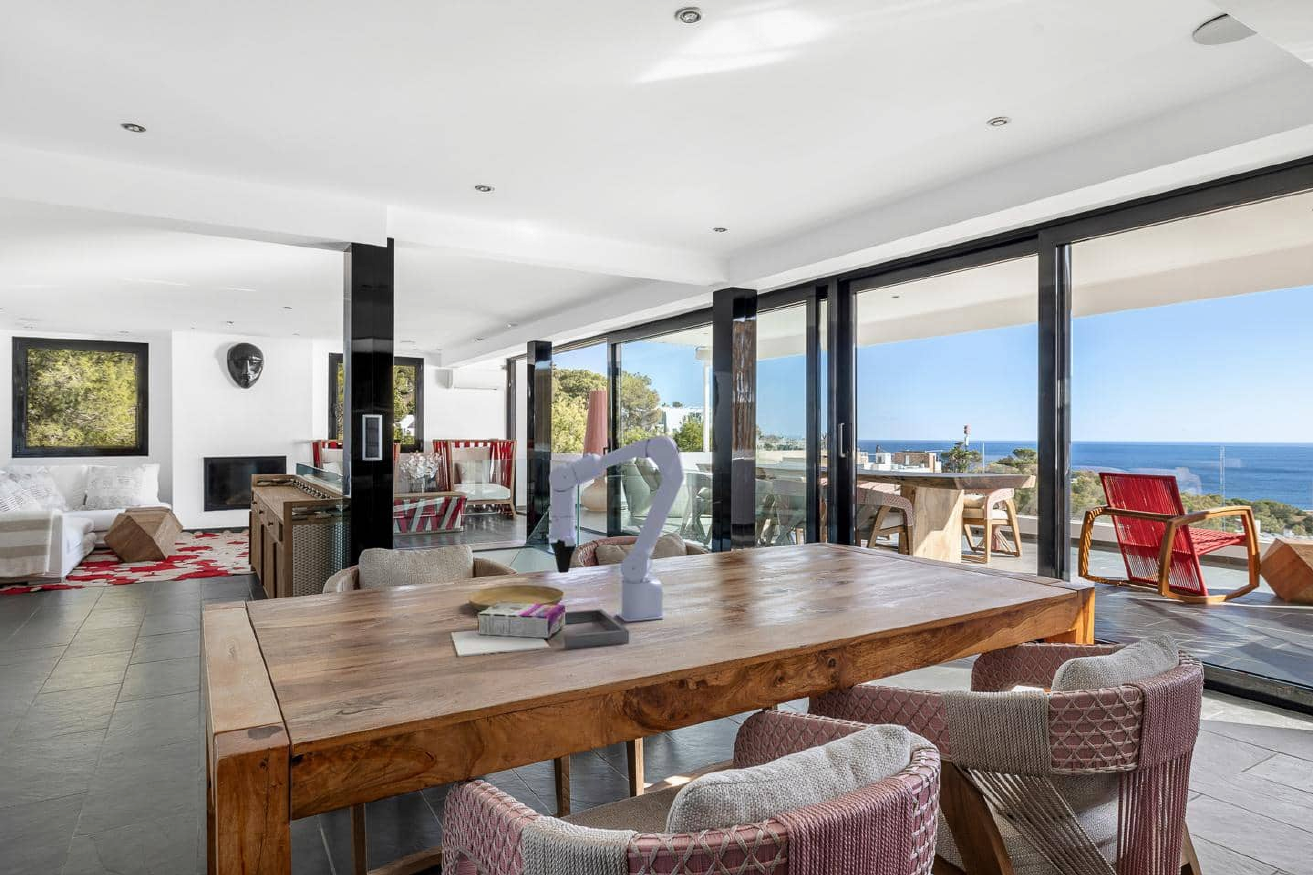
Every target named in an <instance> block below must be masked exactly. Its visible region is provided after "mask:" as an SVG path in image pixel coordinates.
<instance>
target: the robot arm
mask: <svg viewBox="0 0 1313 875" xmlns="http://www.w3.org/2000/svg"><path fill="white" fill-rule="evenodd" d="M583 456H584V457H582V458H579V459H576V460H574V461H570V460H569V461H567V462H565V466H563V465H559V466H557V467H555V468H554V469H552V470H551V472H550V473H549V476H548V482H549V485H550V486H551V499H550V500H551V504H550V505H551V506H550V507H551V508H550V509H551V513H550V514H551V515H550V516H551V522H550V523H551V526H550V527H551V530H550V532H551V533H550V534H549V533H548V534H546V535H545V536H546V538H547V539H553V540H556V542H551V543H550V547H551V548H552V551H553V554H554V556H555V557H554V558H555V561H556V562H555V563H556V566H557V567H556V568H557V571H558V573H559V574H564V573H569V570H570V566H571V560H572V557H573V554H574V551H575V550H576V548H577V544H576V543H575V539H576V537H577V533H576V496H575V490H576V489H575V488H576V485H578V486H579V485H582V484H584V483H587V482H590V481H592V480H594V479H595V480H596V479H597V478H599V477H602V476H604V473H605V471H606V469H607V468H610V467H612V466H615V465H619V464H621V463H623V462H627V461H629V460H633V459H634V458H639V459H649V458H650V459H651V461H652V462H653V463H654V464H655V465H656V466H657V468H658V471H659V472H660V473H659V474H660V475H661V476H662V481H661V483H660V486H659V487H658V490H657V492H656V494H655V496H654V499H653V501H652V504H651V506H650V509H649V511H648V513H647V516H646V518H645V519H644V522H643V525H642V527H641V529H640V530H639V534H638V536H637V538H636V540H635V542H634V545H633V546H632V547H631V550H630V552H629V553H628V555H627V556H625V557H624V559H622V561H621V563H620V573H621V575H622V577H621V578H620V579H621V582H620V583H621V586H620V587H621V590H620V591H621V592H620V593H621V604H620V605H621V611H619V612H618V611H617V612H616V613H615V614H616V616H618V617H619V618H620V619H622V620H623V622H626V623H627V622H637V621H638V622H639V621H649V620H660V619H664V616H663V587H662V583H661V581H660V580H659V579H657V578H652V576H651V574H650V573H649V571H650V570H651V568H652V565H653V564H652V563H653V561H652V560H653V559H652V555H653V553H654V551H655V548H656V545H657V542H658V540H659V537H660V535H661V533H662V531H663V528H664V526H665V524H666V522H667V519H668V517H669V514H670V512H671V509H672V508H673V505H674V502H675V500H676V498H677V497H678V493H679V491H680V488H681V487H682V484H683V482H684V479H685V472H684V466H683V461H682V455H681V449H680V448H679V446H678V444H677V443H676V441H675V439H674V438H673V437H671V436H668V435H660V434H659V435H655V436H653V437H650V438H644V439H640V440H637V441H634V442H630V443H628V444H626V445H624V446H622V447H619V448H617V449H614V450H613V451H611V452H608V453H606V454H604V455H599V454H597V453H590V452H587V453H585V454H584V455H583Z"/></svg>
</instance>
